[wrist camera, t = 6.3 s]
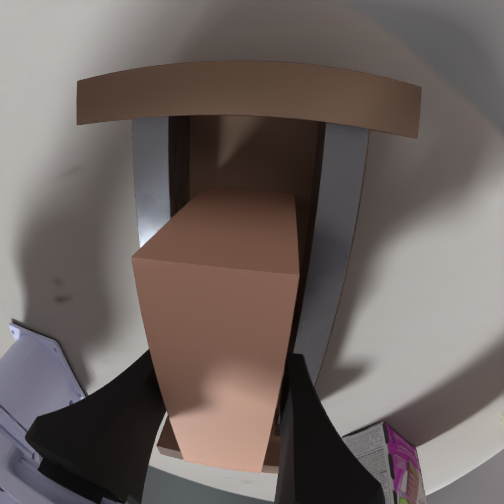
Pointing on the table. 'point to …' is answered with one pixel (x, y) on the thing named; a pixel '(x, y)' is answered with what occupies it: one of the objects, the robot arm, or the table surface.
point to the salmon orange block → (221, 319)
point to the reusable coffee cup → (502, 421)
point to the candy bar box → (389, 462)
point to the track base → (258, 162)
